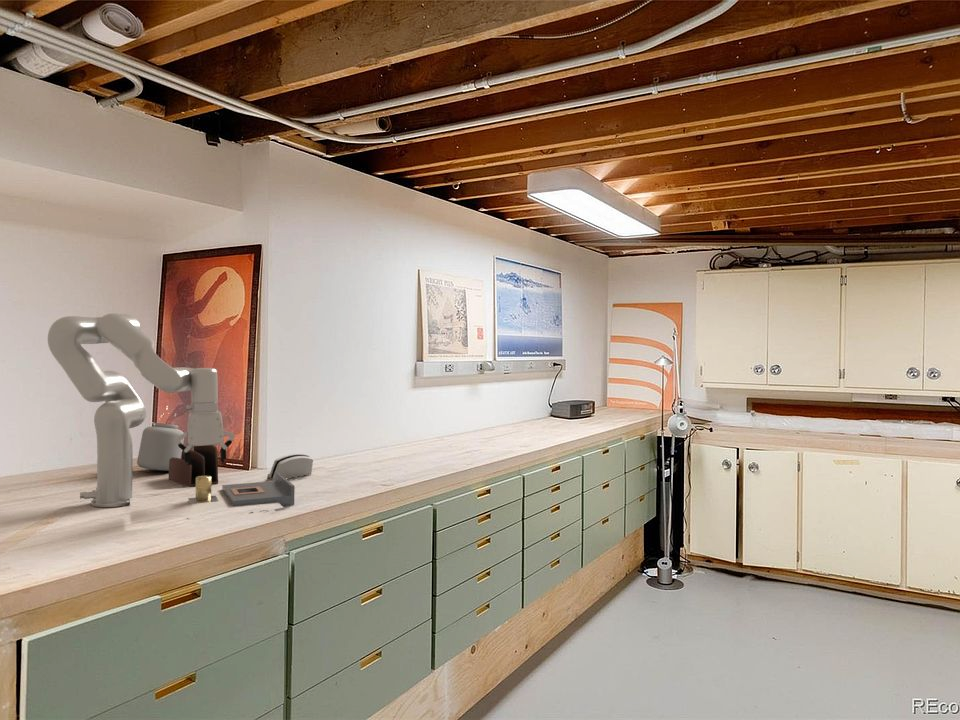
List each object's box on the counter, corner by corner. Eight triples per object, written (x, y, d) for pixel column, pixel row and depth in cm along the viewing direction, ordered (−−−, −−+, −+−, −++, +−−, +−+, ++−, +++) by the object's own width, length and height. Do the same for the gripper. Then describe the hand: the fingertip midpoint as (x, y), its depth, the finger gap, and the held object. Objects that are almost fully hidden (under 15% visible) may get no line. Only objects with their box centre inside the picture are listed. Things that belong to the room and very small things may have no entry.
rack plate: (233, 511, 195) (233, 491, 195) (222, 494, 216) (222, 476, 216) (294, 504, 204) (294, 485, 203) (278, 489, 225) (278, 471, 224)
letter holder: (195, 475, 245) (196, 438, 245) (218, 484, 231) (218, 444, 231) (168, 479, 238) (168, 440, 238) (189, 488, 224) (190, 447, 224)
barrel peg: (196, 501, 199) (196, 479, 199) (194, 498, 203) (195, 476, 203) (212, 500, 201) (212, 477, 201) (210, 497, 205) (210, 475, 205)
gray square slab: (190, 508, 197) (190, 503, 196) (188, 502, 204) (188, 498, 203) (218, 506, 200) (218, 501, 200) (215, 500, 207) (215, 495, 207)
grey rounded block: (303, 472, 254) (309, 449, 252) (310, 478, 252) (316, 455, 249) (265, 478, 241) (271, 454, 239) (272, 485, 239) (278, 460, 236)
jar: (169, 465, 264) (170, 403, 263) (196, 468, 258) (197, 405, 258) (127, 473, 247) (128, 407, 246) (156, 477, 241) (156, 409, 240)
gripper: (174, 410, 194) (175, 467, 194) (236, 407, 202) (237, 462, 203) (173, 408, 200) (173, 463, 201) (232, 405, 209) (233, 459, 209)
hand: (205, 463), depth 202 cm, fingers open, 9 cm apart
